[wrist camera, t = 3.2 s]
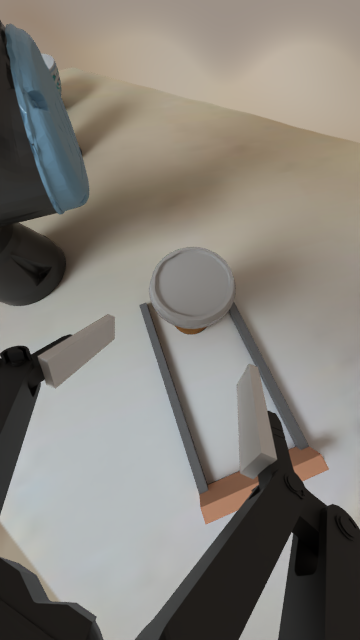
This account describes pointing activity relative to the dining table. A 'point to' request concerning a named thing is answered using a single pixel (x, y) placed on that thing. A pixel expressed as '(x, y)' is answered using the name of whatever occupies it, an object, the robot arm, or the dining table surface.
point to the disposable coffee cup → (192, 289)
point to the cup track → (237, 487)
